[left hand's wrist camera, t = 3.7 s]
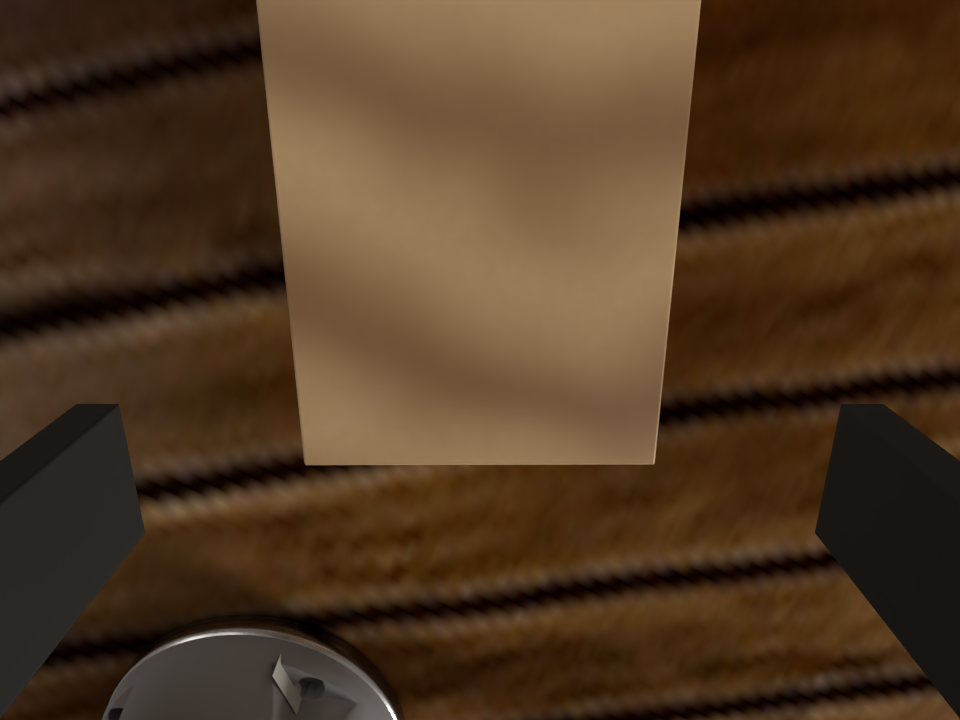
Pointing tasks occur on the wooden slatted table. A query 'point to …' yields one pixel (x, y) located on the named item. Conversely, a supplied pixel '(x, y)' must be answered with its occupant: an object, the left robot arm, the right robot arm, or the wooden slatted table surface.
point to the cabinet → (479, 223)
